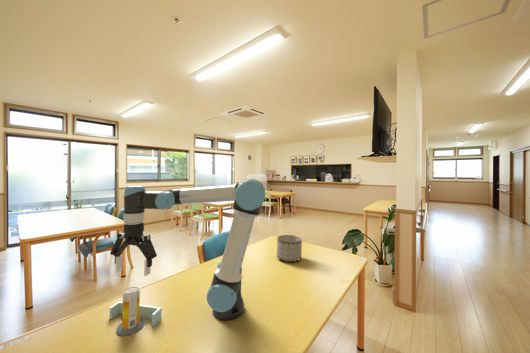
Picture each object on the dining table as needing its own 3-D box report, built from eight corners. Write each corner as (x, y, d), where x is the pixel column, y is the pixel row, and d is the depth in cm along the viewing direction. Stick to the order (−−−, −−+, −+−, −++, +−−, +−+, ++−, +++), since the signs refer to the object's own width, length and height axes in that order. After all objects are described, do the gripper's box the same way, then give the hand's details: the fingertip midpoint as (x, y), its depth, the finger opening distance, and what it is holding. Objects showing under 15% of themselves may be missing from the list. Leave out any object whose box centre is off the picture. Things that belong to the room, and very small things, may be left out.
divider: (161, 318, 97) (161, 307, 97) (153, 326, 92) (154, 314, 92) (118, 311, 101) (119, 301, 101) (109, 318, 96) (109, 307, 96)
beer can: (135, 318, 95) (136, 284, 95) (141, 325, 92) (142, 289, 91) (119, 326, 91) (120, 290, 91) (125, 333, 87) (126, 295, 87)
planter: (303, 264, 162) (303, 242, 162) (277, 263, 162) (277, 241, 162) (299, 254, 181) (299, 235, 181) (276, 254, 182) (276, 234, 182)
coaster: (149, 321, 95) (149, 319, 95) (131, 337, 85) (131, 336, 85) (129, 317, 97) (129, 316, 97) (109, 333, 87) (109, 332, 87)
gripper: (166, 222, 93) (165, 272, 93) (116, 219, 97) (115, 266, 97) (154, 226, 85) (153, 280, 85) (100, 222, 90) (99, 273, 90)
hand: (132, 273), depth 91 cm, fingers open, 13 cm apart
